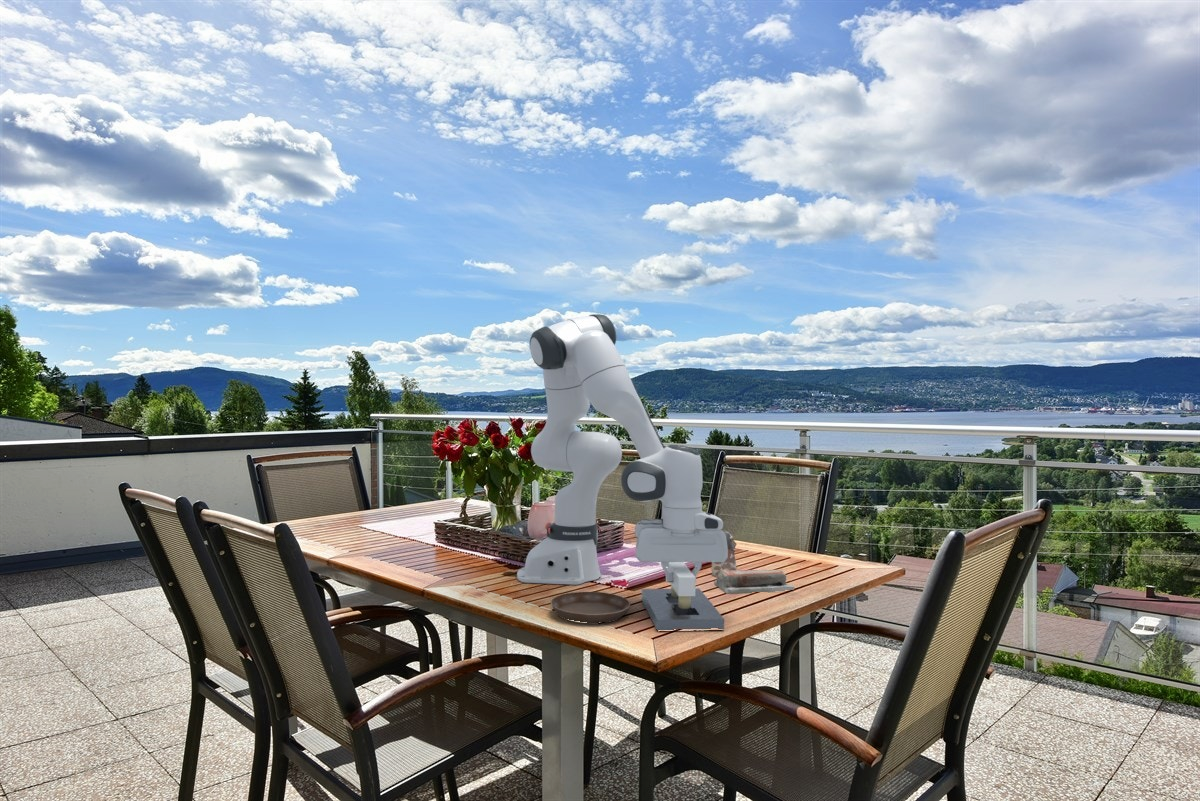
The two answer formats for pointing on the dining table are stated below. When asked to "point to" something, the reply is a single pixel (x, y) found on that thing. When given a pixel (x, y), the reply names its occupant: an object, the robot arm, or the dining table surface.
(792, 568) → the dining table surface
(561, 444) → the robot arm
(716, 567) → the figurine
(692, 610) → the keyhole plate
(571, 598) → the plant saucer
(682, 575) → the white pronged plug block
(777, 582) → the packaged product
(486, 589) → the dining table surface
